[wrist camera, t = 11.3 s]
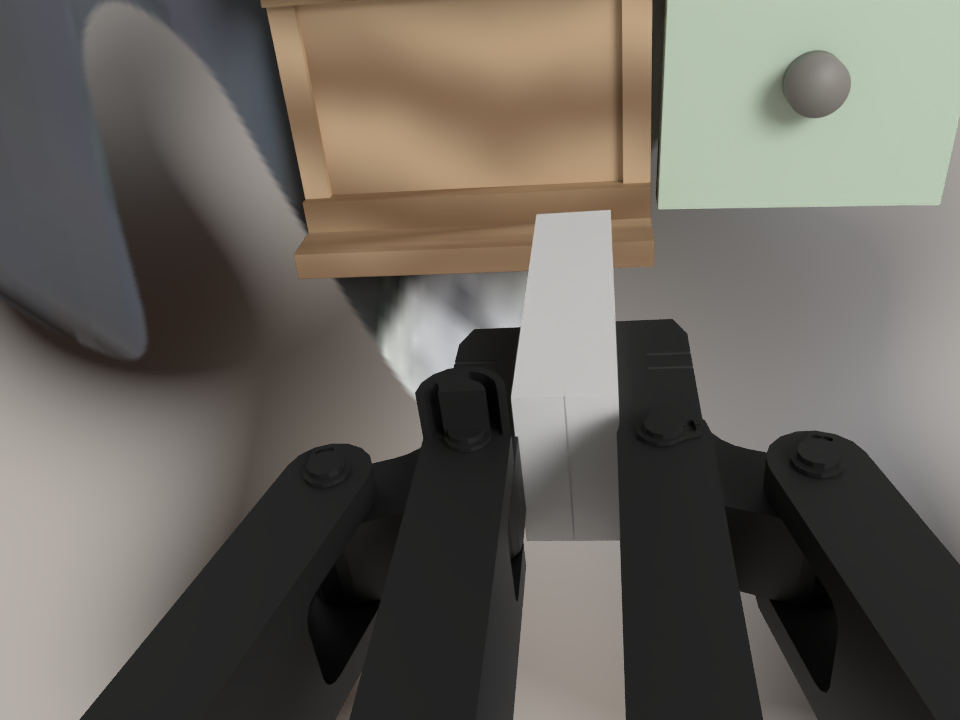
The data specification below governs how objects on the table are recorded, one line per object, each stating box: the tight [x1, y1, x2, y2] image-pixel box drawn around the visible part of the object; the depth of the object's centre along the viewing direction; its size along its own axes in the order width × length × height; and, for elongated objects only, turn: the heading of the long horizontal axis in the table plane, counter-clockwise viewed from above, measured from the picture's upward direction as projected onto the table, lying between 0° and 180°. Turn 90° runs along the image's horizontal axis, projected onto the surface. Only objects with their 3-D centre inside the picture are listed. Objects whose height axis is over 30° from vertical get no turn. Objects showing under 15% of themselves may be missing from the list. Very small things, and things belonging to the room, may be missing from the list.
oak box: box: [260, 0, 654, 279], centre depth 37 cm, size 14×16×4 cm
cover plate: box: [656, 0, 960, 209], centre depth 36 cm, size 11×12×3 cm
